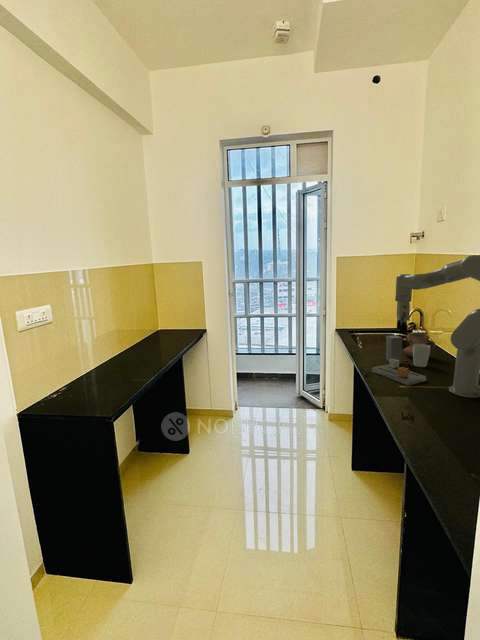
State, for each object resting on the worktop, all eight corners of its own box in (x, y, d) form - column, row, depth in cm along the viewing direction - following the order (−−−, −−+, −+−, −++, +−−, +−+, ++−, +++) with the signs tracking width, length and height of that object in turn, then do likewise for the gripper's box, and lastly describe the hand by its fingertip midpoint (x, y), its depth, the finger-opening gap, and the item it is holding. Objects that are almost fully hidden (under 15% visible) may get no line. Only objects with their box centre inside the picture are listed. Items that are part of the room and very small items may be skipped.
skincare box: (402, 363, 198) (404, 337, 195) (390, 364, 198) (391, 338, 196) (395, 359, 207) (397, 334, 204) (384, 359, 207) (385, 334, 204)
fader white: (398, 366, 184) (399, 359, 183) (393, 368, 182) (394, 361, 182) (394, 365, 187) (394, 358, 186) (388, 366, 185) (389, 359, 185)
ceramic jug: (401, 358, 209) (403, 336, 207) (401, 352, 222) (403, 331, 220) (434, 361, 202) (437, 338, 199) (433, 355, 214) (435, 333, 212)
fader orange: (408, 375, 170) (408, 368, 169) (402, 377, 168) (403, 369, 168) (402, 374, 173) (403, 366, 172) (397, 375, 171) (397, 367, 171)
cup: (411, 366, 193) (412, 346, 191) (411, 362, 201) (413, 342, 199) (429, 368, 189) (430, 348, 187) (428, 364, 197) (430, 344, 195)
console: (425, 381, 171) (426, 376, 170) (408, 385, 165) (408, 380, 165) (388, 368, 191) (388, 363, 191) (371, 371, 186) (372, 367, 185)
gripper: (414, 300, 164) (412, 334, 167) (408, 296, 181) (406, 327, 183) (398, 300, 166) (396, 333, 169) (392, 296, 183) (391, 327, 186)
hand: (401, 330), depth 176 cm, fingers open, 9 cm apart
